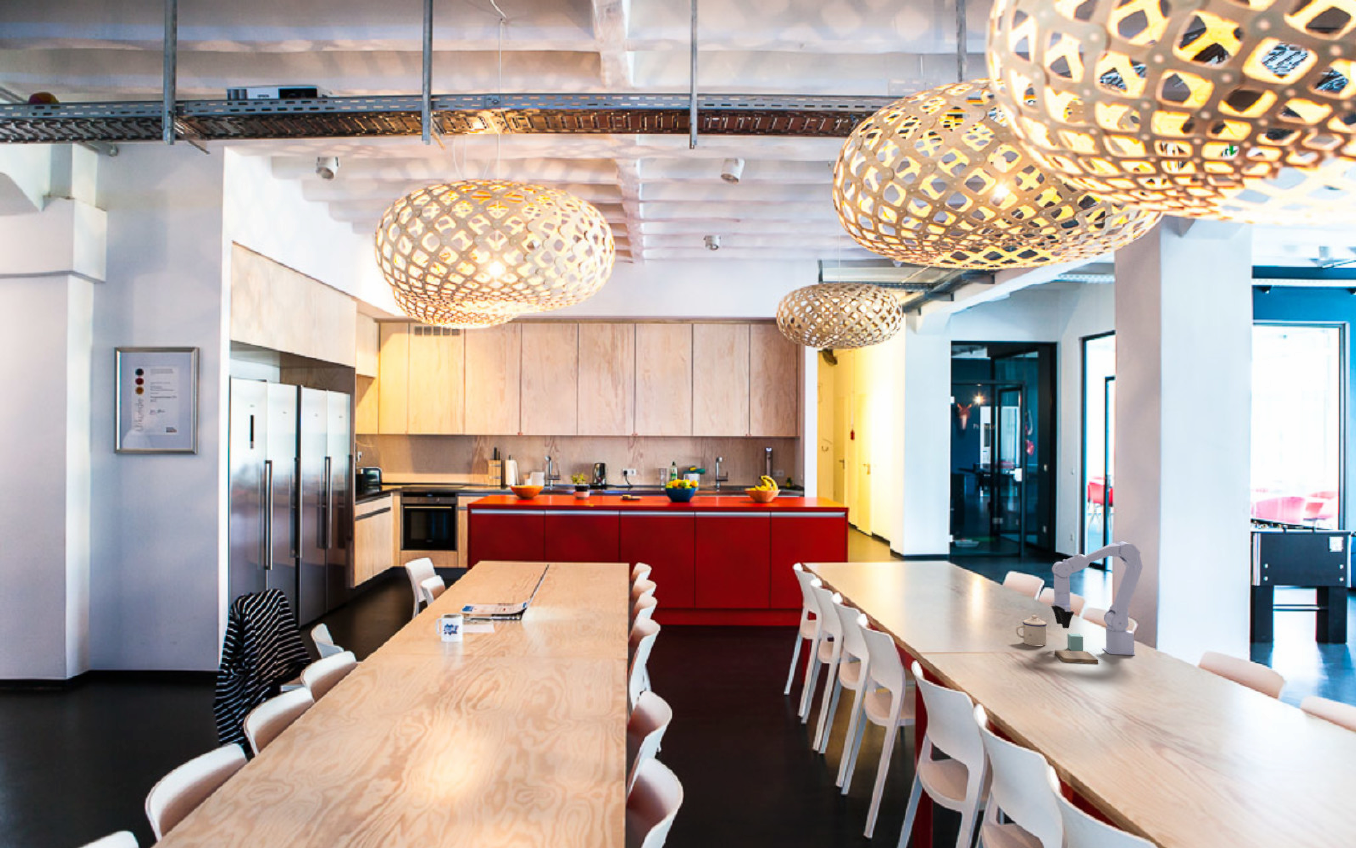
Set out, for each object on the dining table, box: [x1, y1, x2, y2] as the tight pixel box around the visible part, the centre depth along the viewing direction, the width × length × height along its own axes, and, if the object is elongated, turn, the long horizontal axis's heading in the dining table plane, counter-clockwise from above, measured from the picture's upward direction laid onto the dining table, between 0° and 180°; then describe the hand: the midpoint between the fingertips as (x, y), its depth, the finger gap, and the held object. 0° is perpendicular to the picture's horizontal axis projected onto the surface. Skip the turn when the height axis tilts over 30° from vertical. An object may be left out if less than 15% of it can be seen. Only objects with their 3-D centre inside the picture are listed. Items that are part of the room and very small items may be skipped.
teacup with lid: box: [1015, 614, 1047, 646], centre depth 325 cm, size 12×9×12 cm
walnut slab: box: [1054, 649, 1099, 664], centre depth 302 cm, size 12×12×2 cm
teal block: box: [1066, 633, 1084, 651], centre depth 316 cm, size 4×4×6 cm
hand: (1062, 626), depth 316 cm, fingers open, 7 cm apart
